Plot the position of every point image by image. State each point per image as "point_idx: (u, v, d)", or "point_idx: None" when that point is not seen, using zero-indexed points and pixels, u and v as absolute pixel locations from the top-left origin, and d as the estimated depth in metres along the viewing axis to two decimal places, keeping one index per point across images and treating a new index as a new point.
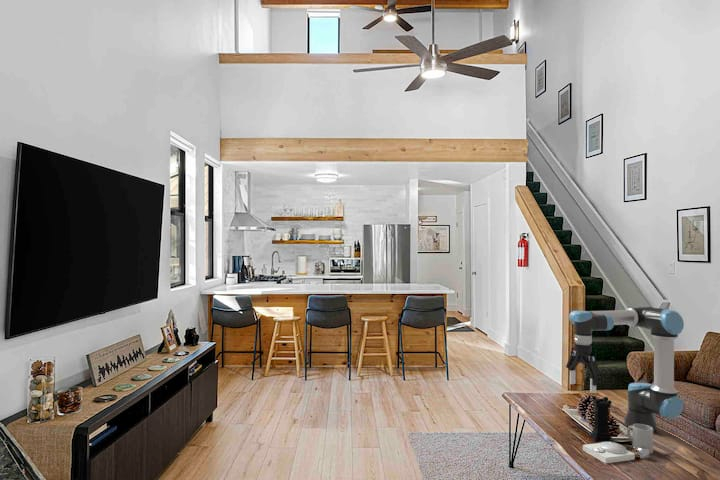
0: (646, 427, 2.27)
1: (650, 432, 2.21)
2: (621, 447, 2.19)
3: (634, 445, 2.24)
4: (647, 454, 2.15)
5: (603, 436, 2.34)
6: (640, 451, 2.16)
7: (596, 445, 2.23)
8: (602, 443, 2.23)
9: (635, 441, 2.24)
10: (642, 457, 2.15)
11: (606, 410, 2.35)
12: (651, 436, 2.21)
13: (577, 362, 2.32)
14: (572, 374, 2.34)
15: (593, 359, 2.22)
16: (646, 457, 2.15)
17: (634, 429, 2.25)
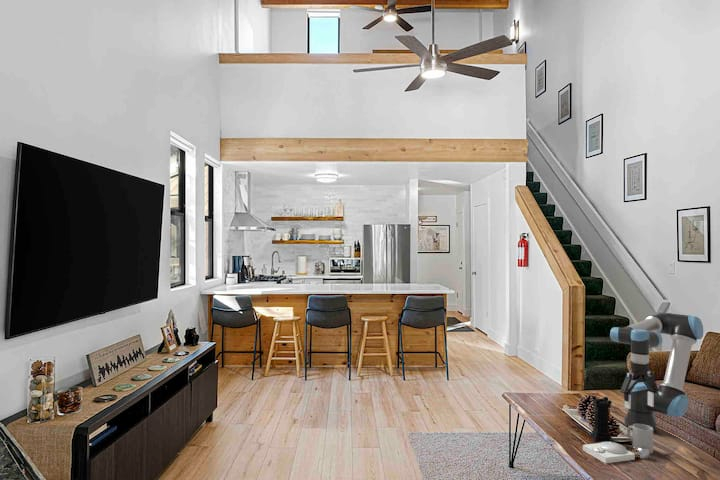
0: (646, 427, 2.27)
1: (650, 432, 2.21)
2: (621, 447, 2.19)
3: (634, 445, 2.24)
4: (647, 454, 2.15)
5: (603, 436, 2.34)
6: (640, 451, 2.16)
7: (596, 445, 2.23)
8: (602, 443, 2.23)
9: (635, 441, 2.24)
10: (642, 457, 2.15)
11: (606, 410, 2.35)
12: (651, 436, 2.21)
13: (645, 382, 2.28)
14: (649, 395, 2.29)
15: (627, 375, 2.25)
16: (646, 457, 2.15)
17: (634, 429, 2.25)
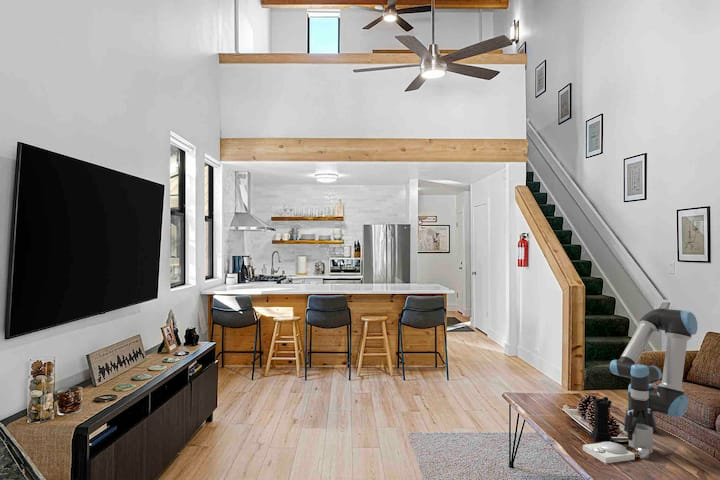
0: (646, 427, 2.27)
1: (650, 432, 2.21)
2: (621, 447, 2.19)
3: None
4: (647, 454, 2.15)
5: (603, 436, 2.34)
6: (640, 451, 2.16)
7: (596, 445, 2.23)
8: (602, 443, 2.23)
9: (635, 441, 2.24)
10: (642, 457, 2.15)
11: (606, 410, 2.35)
12: (651, 436, 2.21)
13: (643, 419, 2.27)
14: None
15: (628, 414, 2.25)
16: (646, 457, 2.15)
17: None
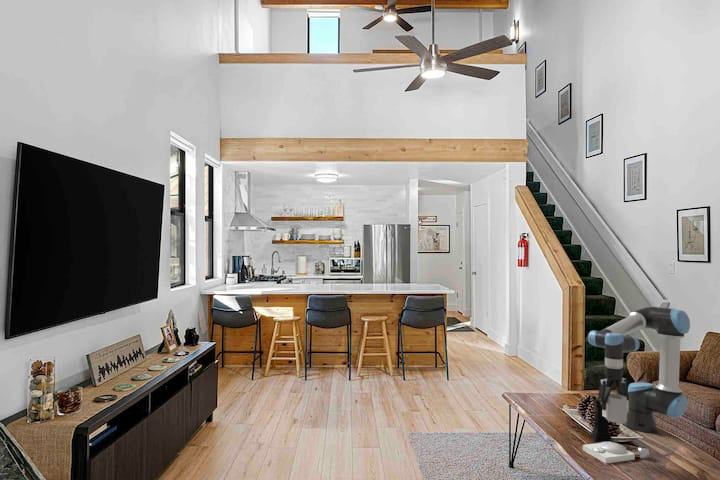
0: (620, 397, 2.21)
1: (623, 401, 2.14)
2: (621, 447, 2.19)
3: None
4: (647, 454, 2.15)
5: (603, 436, 2.34)
6: (640, 451, 2.16)
7: (596, 445, 2.23)
8: (602, 443, 2.23)
9: (608, 411, 2.17)
10: (642, 457, 2.15)
11: None
12: (624, 405, 2.15)
13: (617, 388, 2.21)
14: None
15: (601, 383, 2.18)
16: (646, 457, 2.15)
17: None
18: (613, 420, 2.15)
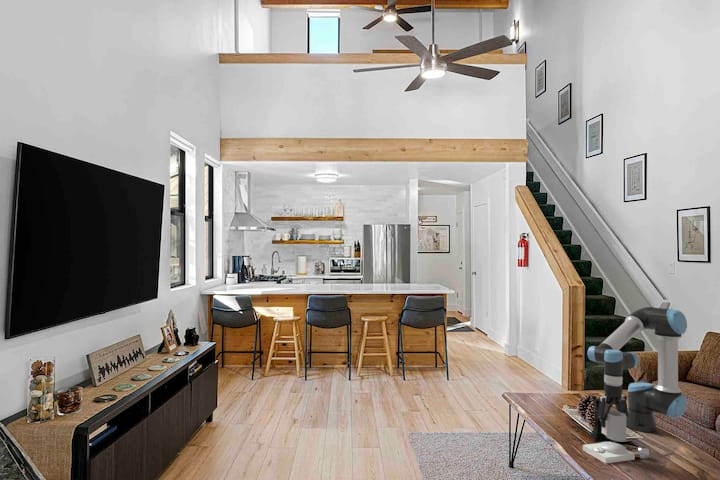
0: (619, 414, 2.20)
1: (623, 419, 2.14)
2: (621, 447, 2.19)
3: (607, 432, 2.18)
4: (647, 454, 2.15)
5: (603, 436, 2.34)
6: (640, 451, 2.16)
7: (596, 445, 2.23)
8: (602, 443, 2.23)
9: (608, 428, 2.17)
10: (642, 457, 2.15)
11: None
12: (624, 423, 2.14)
13: (616, 405, 2.21)
14: None
15: (601, 400, 2.18)
16: (646, 457, 2.15)
17: (607, 416, 2.18)
18: (612, 437, 2.15)
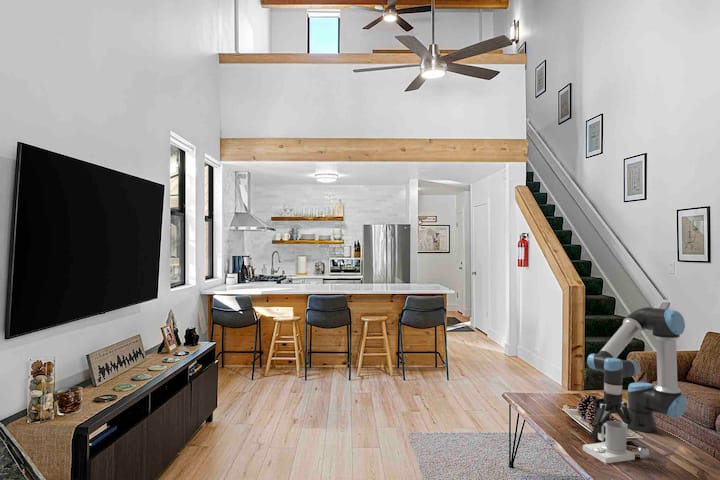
0: (619, 425, 2.20)
1: (623, 429, 2.14)
2: None
3: (607, 443, 2.18)
4: (647, 454, 2.15)
5: None
6: (640, 451, 2.16)
7: (596, 445, 2.23)
8: (602, 443, 2.23)
9: (608, 439, 2.17)
10: (642, 457, 2.15)
11: None
12: (624, 434, 2.14)
13: (618, 413, 2.21)
14: None
15: (600, 406, 2.18)
16: (646, 457, 2.15)
17: (607, 426, 2.18)
18: (613, 448, 2.15)
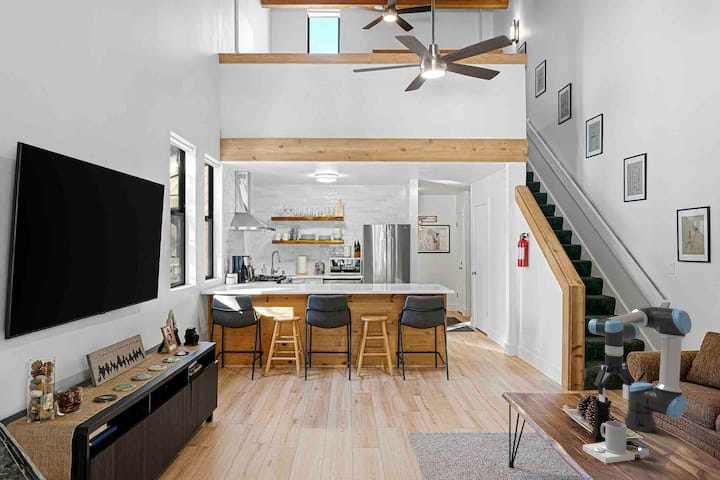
0: (619, 425, 2.20)
1: (623, 430, 2.14)
2: None
3: (607, 443, 2.18)
4: (647, 454, 2.15)
5: None
6: (640, 451, 2.16)
7: (596, 445, 2.23)
8: (602, 443, 2.23)
9: (608, 439, 2.17)
10: (642, 457, 2.15)
11: (606, 410, 2.35)
12: (624, 434, 2.14)
13: (619, 375, 2.22)
14: (624, 388, 2.23)
15: (601, 368, 2.19)
16: (646, 457, 2.15)
17: (607, 426, 2.18)
18: (613, 448, 2.15)
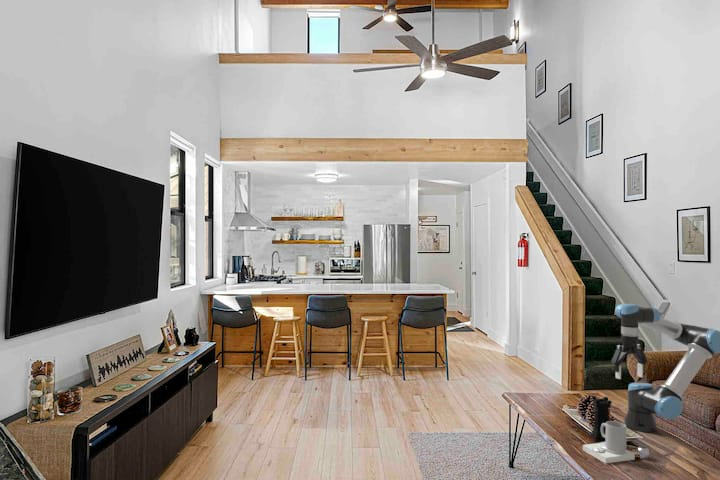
0: (619, 425, 2.20)
1: (623, 430, 2.14)
2: None
3: (607, 443, 2.18)
4: (647, 454, 2.15)
5: None
6: (640, 451, 2.16)
7: (596, 445, 2.23)
8: (602, 443, 2.23)
9: (608, 439, 2.17)
10: (642, 457, 2.15)
11: (606, 410, 2.35)
12: (624, 434, 2.14)
13: (634, 354, 2.39)
14: (638, 367, 2.40)
15: (618, 347, 2.36)
16: (646, 457, 2.15)
17: (607, 426, 2.18)
18: (613, 448, 2.15)
